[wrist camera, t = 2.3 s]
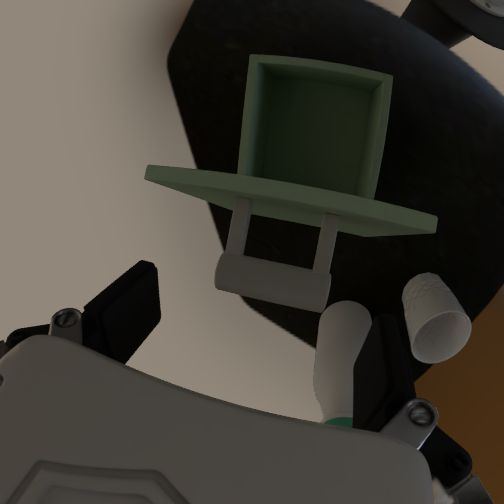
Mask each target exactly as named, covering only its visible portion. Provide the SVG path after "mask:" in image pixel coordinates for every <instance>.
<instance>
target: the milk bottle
mask: <svg viewBox="0 0 504 504" xmlns="http://www.w3.org/2000/svg"><path fill="white" fill-rule="evenodd" d="M371 325H372V320H371V316H370V313H369V312H368V310H367V309H366V308H365V307H364V306H362V305H361V304H359V303H357V302H353V301H340V302H336V303H334V304H332V305H331V306H329V307H328V308H327V309H326V310H325V311H324V312H323V313H322V315H321V318H320V322H319V330H318V338H317V347H316V356H315V364H314V375H313V385H314V391H315V395H316V397H317V400H318V402H319V404H320V406H321V409H322V412H323V420H322V421H321V423H323V424H329V425H336V426H342V427H349V428H352V421H353V367H354V363H355V361H356V359H357V357H358V354H359V352H360V350H361V348H362V346H363V343H364V341H365V339H366V337H367V334H368V332H369V330H370V327H371Z"/></svg>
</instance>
